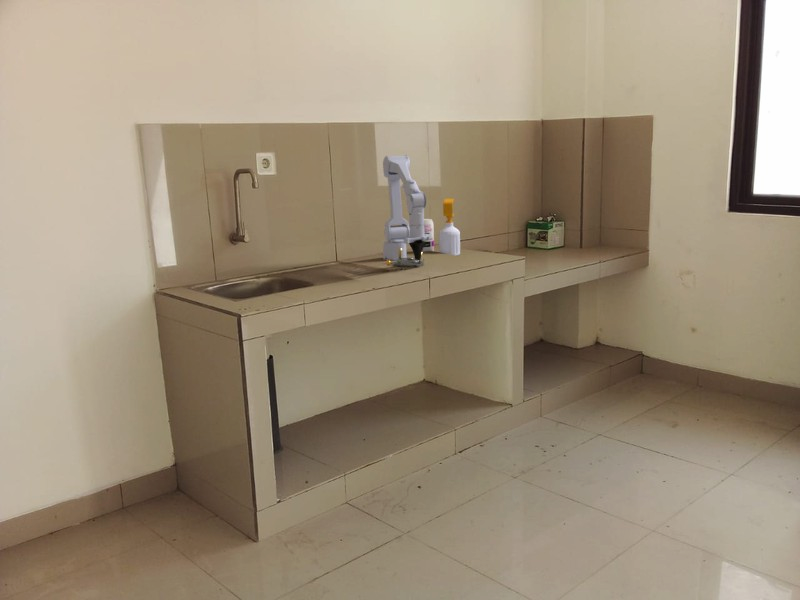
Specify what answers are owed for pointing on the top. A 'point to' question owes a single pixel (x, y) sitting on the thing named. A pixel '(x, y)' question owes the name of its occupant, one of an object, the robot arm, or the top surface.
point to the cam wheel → (406, 261)
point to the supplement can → (430, 230)
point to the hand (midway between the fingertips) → (417, 259)
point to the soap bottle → (449, 232)
